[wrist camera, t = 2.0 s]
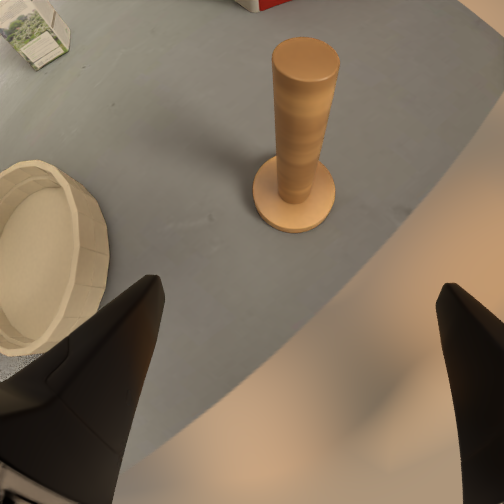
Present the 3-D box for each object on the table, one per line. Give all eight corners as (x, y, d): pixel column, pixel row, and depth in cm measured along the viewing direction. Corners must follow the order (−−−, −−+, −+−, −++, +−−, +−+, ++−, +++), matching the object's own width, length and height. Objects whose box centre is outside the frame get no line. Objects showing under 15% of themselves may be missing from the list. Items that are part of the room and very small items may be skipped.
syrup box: (71, 30, 31) (25, -35, 17) (69, 52, 30) (15, -18, 16) (40, 50, 31) (-10, -8, 17) (36, 73, 30) (-23, 12, 16)
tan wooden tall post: (347, 207, 23) (421, 88, 9) (280, 248, 23) (280, 157, 9) (304, 146, 24) (320, -2, 10) (239, 182, 24) (193, 45, 10)
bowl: (143, 300, 23) (112, 298, 19) (23, 375, 23) (-11, 382, 18) (81, 148, 26) (52, 125, 22) (-17, 237, 26) (-48, 228, 21)
